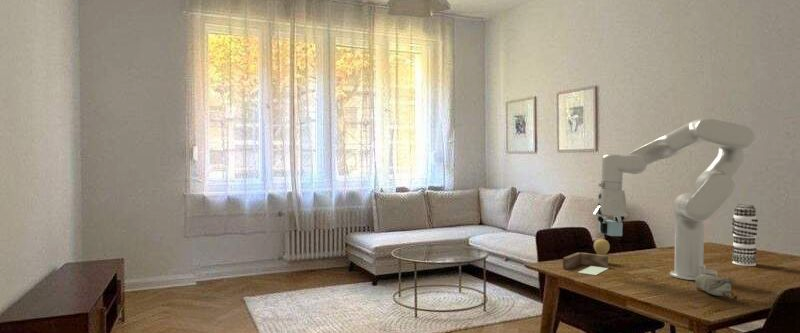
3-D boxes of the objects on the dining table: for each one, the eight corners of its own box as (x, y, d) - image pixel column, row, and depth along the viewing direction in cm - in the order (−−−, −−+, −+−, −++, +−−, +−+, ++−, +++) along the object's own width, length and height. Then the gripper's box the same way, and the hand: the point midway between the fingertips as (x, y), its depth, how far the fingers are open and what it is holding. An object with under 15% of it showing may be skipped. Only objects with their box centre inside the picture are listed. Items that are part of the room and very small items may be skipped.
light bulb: (607, 264, 214) (607, 240, 214) (591, 262, 218) (591, 239, 218) (611, 262, 219) (611, 238, 219) (596, 260, 223) (596, 237, 223)
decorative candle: (749, 261, 220) (750, 203, 219) (762, 266, 211) (763, 206, 210) (726, 261, 221) (727, 203, 220) (738, 265, 212) (739, 205, 211)
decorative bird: (704, 289, 175) (704, 267, 175) (741, 303, 160) (741, 279, 159) (689, 290, 175) (690, 268, 175) (725, 303, 159) (725, 280, 159)
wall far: (582, 263, 217) (582, 252, 217) (567, 269, 205) (567, 258, 205) (577, 262, 218) (578, 252, 218) (562, 268, 206) (562, 257, 206)
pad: (608, 268, 206) (608, 268, 206) (595, 275, 195) (595, 274, 195) (591, 266, 211) (591, 265, 211) (577, 272, 199) (577, 272, 199)
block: (622, 236, 194) (622, 222, 193) (611, 236, 193) (611, 222, 193) (608, 232, 202) (609, 219, 202) (598, 232, 202) (598, 219, 202)
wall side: (607, 266, 210) (608, 255, 210) (606, 267, 209) (606, 256, 208) (577, 262, 218) (578, 252, 218) (576, 263, 217) (576, 252, 216)
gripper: (597, 186, 192) (595, 235, 192) (637, 187, 195) (635, 234, 195) (586, 185, 199) (584, 231, 200) (625, 185, 202) (623, 231, 203)
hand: (609, 232), depth 198 cm, fingers closed on block, 4 cm apart
